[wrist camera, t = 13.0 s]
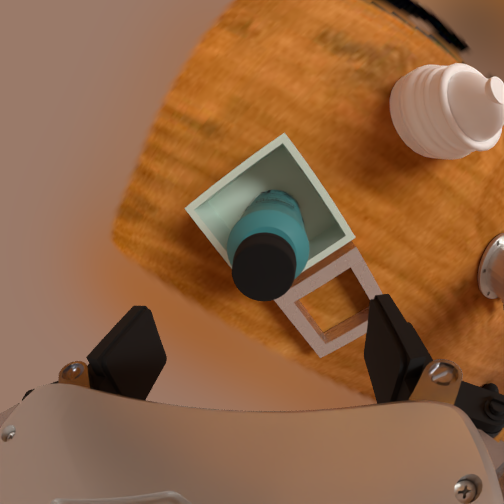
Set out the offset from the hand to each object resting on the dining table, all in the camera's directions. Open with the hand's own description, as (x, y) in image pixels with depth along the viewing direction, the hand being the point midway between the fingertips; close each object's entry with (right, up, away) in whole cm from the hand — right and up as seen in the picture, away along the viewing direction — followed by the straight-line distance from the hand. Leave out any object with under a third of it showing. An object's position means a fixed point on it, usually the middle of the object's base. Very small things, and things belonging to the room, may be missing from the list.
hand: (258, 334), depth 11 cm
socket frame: (+12, -4, +28) cm, 31 cm away
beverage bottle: (+3, +9, +24) cm, 26 cm away
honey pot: (+24, +23, +18) cm, 38 cm away
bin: (+2, +9, +25) cm, 27 cm away
